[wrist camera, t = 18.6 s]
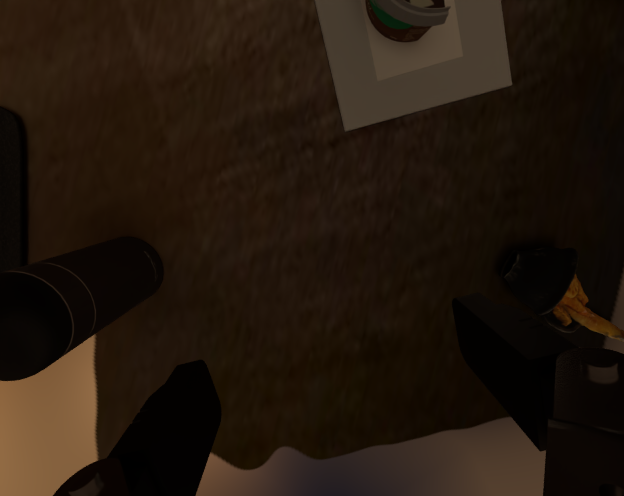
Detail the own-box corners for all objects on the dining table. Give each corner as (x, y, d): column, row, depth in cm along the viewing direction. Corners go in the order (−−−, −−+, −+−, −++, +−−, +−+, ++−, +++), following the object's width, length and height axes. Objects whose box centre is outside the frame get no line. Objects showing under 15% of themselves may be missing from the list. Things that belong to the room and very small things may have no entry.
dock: (344, 132, 42) (345, 131, 41) (294, -86, 38) (293, -94, 37) (507, 87, 41) (512, 84, 39) (475, -148, 36) (480, -159, 35)
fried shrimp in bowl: (533, 219, 39) (721, 286, 34) (500, 246, 50) (640, 301, 45) (505, 290, 38) (698, 372, 33) (476, 303, 48) (619, 366, 43)
